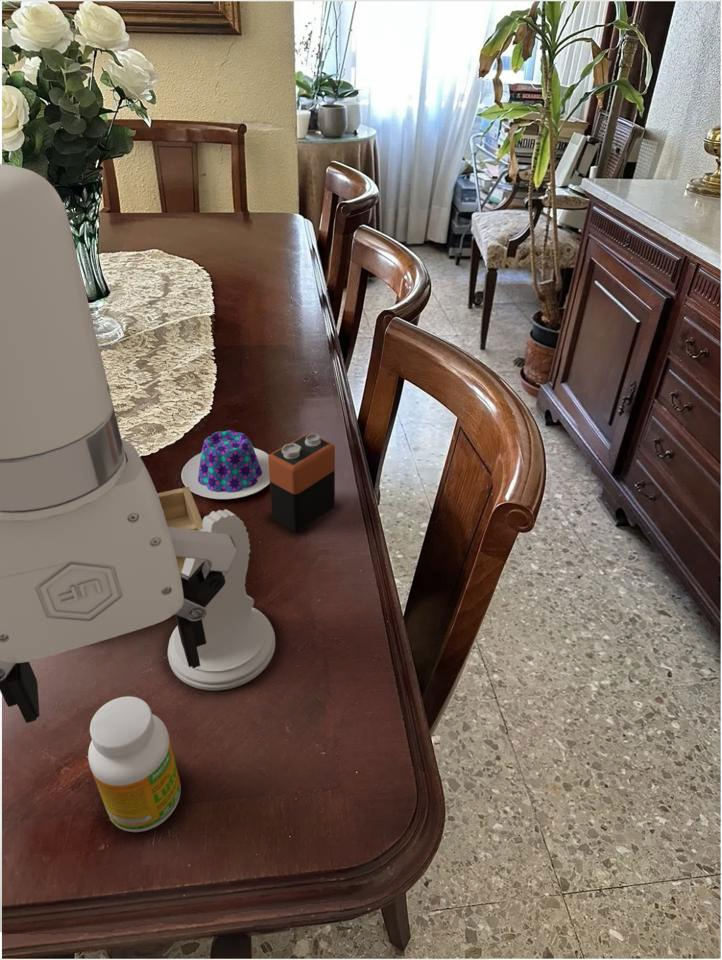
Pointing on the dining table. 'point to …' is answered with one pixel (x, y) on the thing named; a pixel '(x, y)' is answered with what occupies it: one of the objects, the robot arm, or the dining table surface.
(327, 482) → the battery
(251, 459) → the pudding
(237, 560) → the chess piece
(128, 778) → the supplement bottle
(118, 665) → the dining table surface
